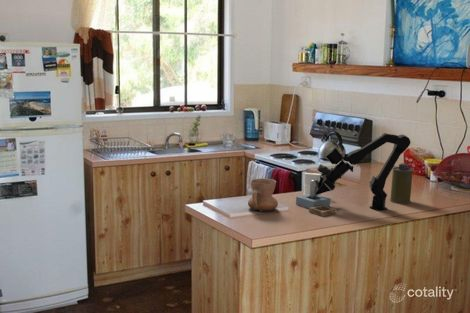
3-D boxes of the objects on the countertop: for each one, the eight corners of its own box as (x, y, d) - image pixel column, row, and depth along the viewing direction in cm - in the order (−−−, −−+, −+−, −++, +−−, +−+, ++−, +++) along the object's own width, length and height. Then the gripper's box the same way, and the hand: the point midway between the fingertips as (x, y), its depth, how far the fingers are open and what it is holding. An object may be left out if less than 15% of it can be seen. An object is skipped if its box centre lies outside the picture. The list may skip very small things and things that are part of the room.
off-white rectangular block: (321, 194, 323) (322, 172, 321) (319, 198, 314) (321, 176, 312) (304, 193, 325) (305, 171, 323) (302, 197, 316) (304, 174, 314)
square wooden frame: (321, 209, 294) (322, 205, 293) (335, 213, 287) (335, 209, 286) (308, 211, 288) (309, 207, 288) (322, 216, 281) (322, 212, 281)
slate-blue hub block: (312, 201, 309) (313, 193, 308) (329, 206, 300) (330, 198, 299) (295, 204, 301) (296, 196, 301) (313, 209, 292) (313, 201, 291)
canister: (404, 205, 307) (407, 166, 303) (386, 201, 314) (389, 163, 310) (414, 201, 315) (417, 164, 311) (396, 197, 322) (399, 161, 318)
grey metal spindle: (315, 204, 303) (316, 179, 300) (318, 206, 299) (319, 180, 297) (307, 204, 302) (309, 179, 299) (310, 206, 298) (312, 181, 296)
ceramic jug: (259, 203, 301) (259, 175, 298) (284, 207, 293) (285, 179, 291) (239, 211, 287) (239, 182, 284) (265, 216, 279) (266, 186, 276)
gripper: (325, 156, 305) (303, 176, 307) (329, 163, 287) (305, 184, 289) (340, 171, 306) (317, 191, 309) (345, 179, 288) (320, 201, 290)
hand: (315, 192), depth 299 cm, fingers open, 9 cm apart
